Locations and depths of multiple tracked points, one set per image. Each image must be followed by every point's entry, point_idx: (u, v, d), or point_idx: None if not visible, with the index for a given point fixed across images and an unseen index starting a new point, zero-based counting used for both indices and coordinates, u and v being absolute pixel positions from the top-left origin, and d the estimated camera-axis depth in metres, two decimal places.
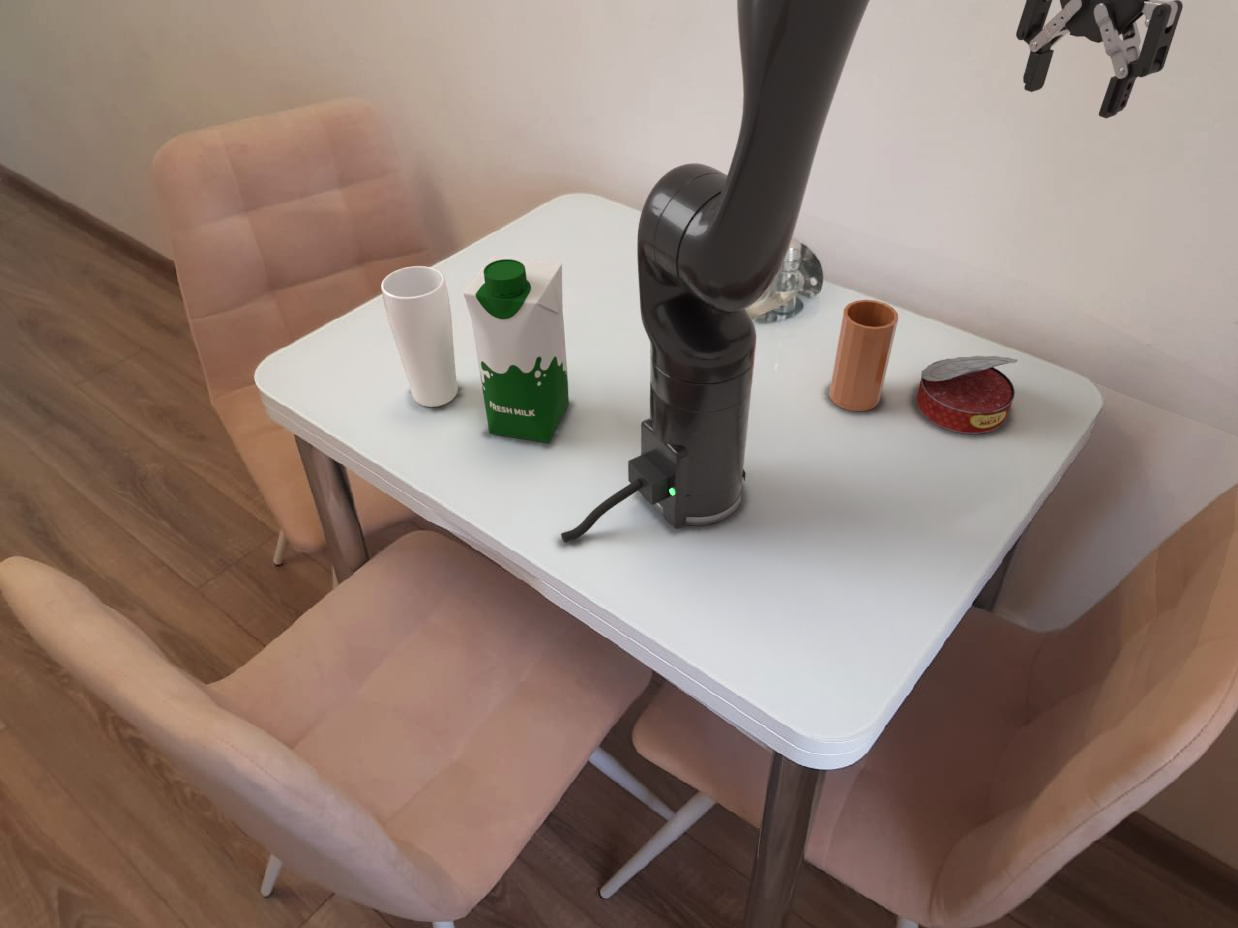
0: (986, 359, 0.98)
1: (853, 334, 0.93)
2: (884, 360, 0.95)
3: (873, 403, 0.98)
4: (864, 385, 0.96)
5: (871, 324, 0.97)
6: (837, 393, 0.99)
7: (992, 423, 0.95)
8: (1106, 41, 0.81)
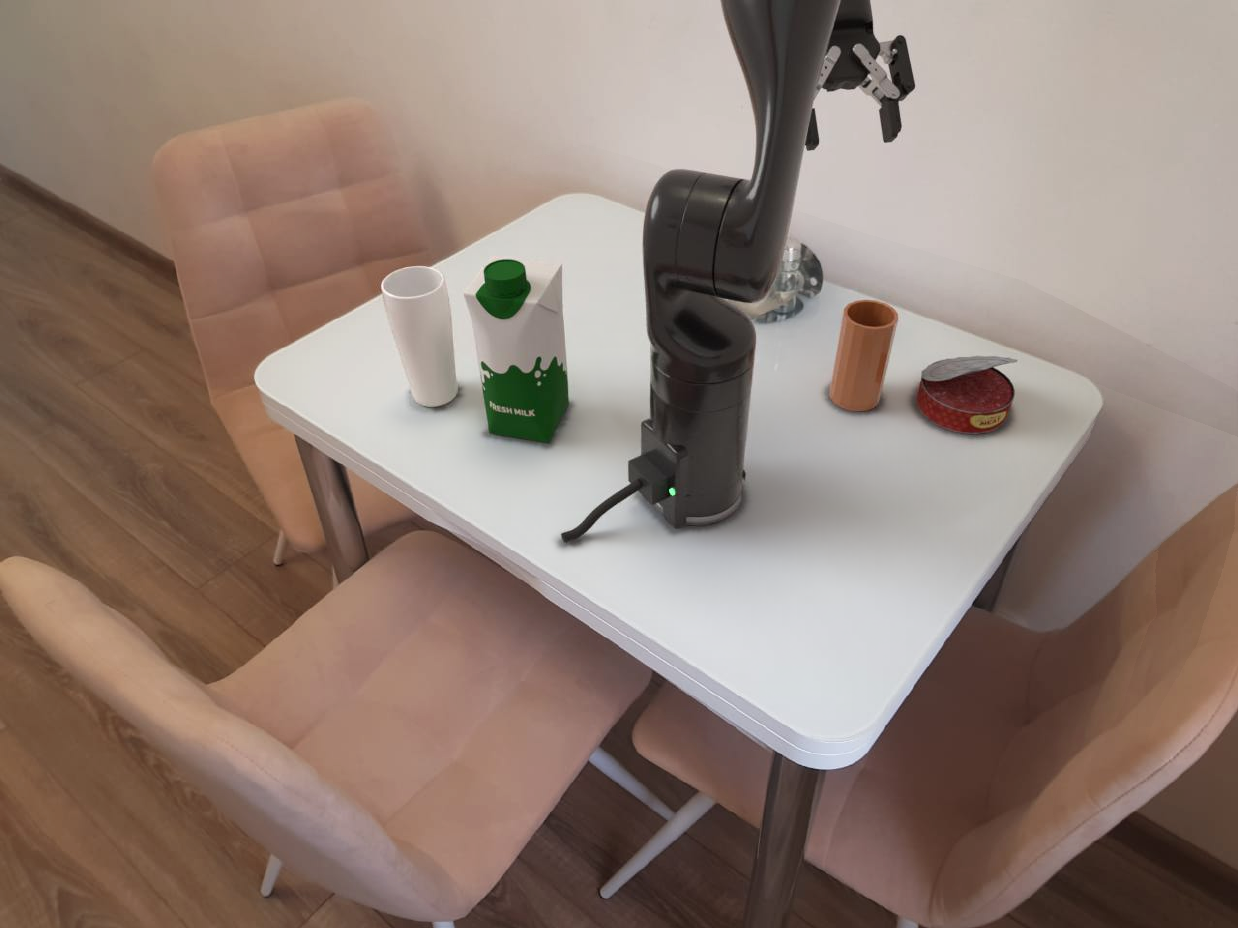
0: (986, 359, 0.98)
1: (853, 334, 0.93)
2: (884, 360, 0.95)
3: (873, 403, 0.98)
4: (864, 385, 0.96)
5: (871, 324, 0.97)
6: (837, 393, 0.99)
7: (992, 423, 0.95)
8: (874, 71, 0.91)
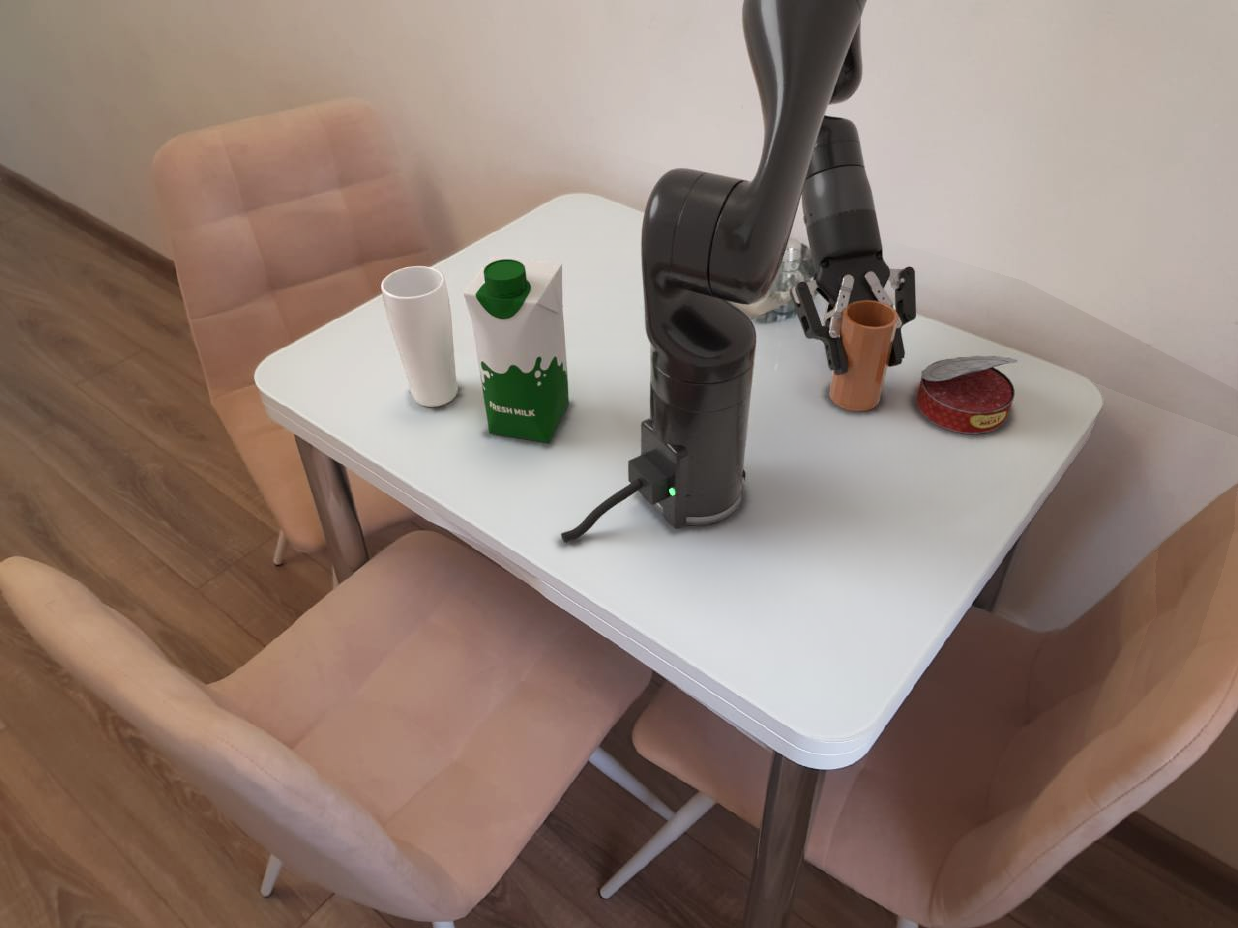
0: (986, 359, 0.98)
1: (853, 334, 0.93)
2: (884, 360, 0.95)
3: (873, 403, 0.98)
4: (864, 385, 0.96)
5: (871, 323, 0.97)
6: (837, 393, 0.99)
7: (992, 423, 0.95)
8: (885, 296, 0.95)
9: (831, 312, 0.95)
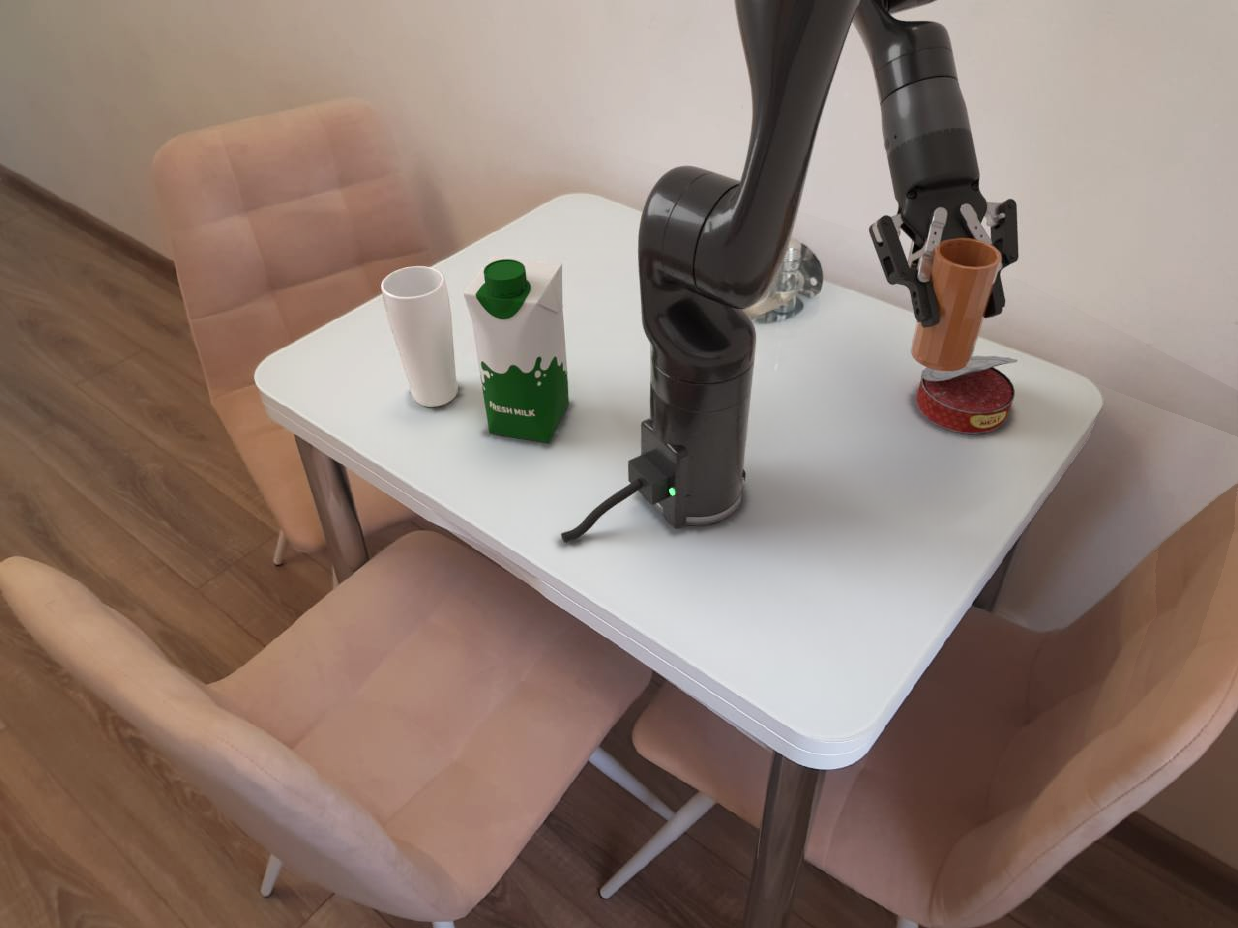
0: (986, 359, 0.98)
1: (948, 277, 0.78)
2: (982, 309, 0.80)
3: (965, 361, 0.84)
4: (957, 339, 0.81)
5: None
6: (922, 350, 0.84)
7: (992, 423, 0.95)
8: (984, 233, 0.80)
9: (919, 252, 0.80)
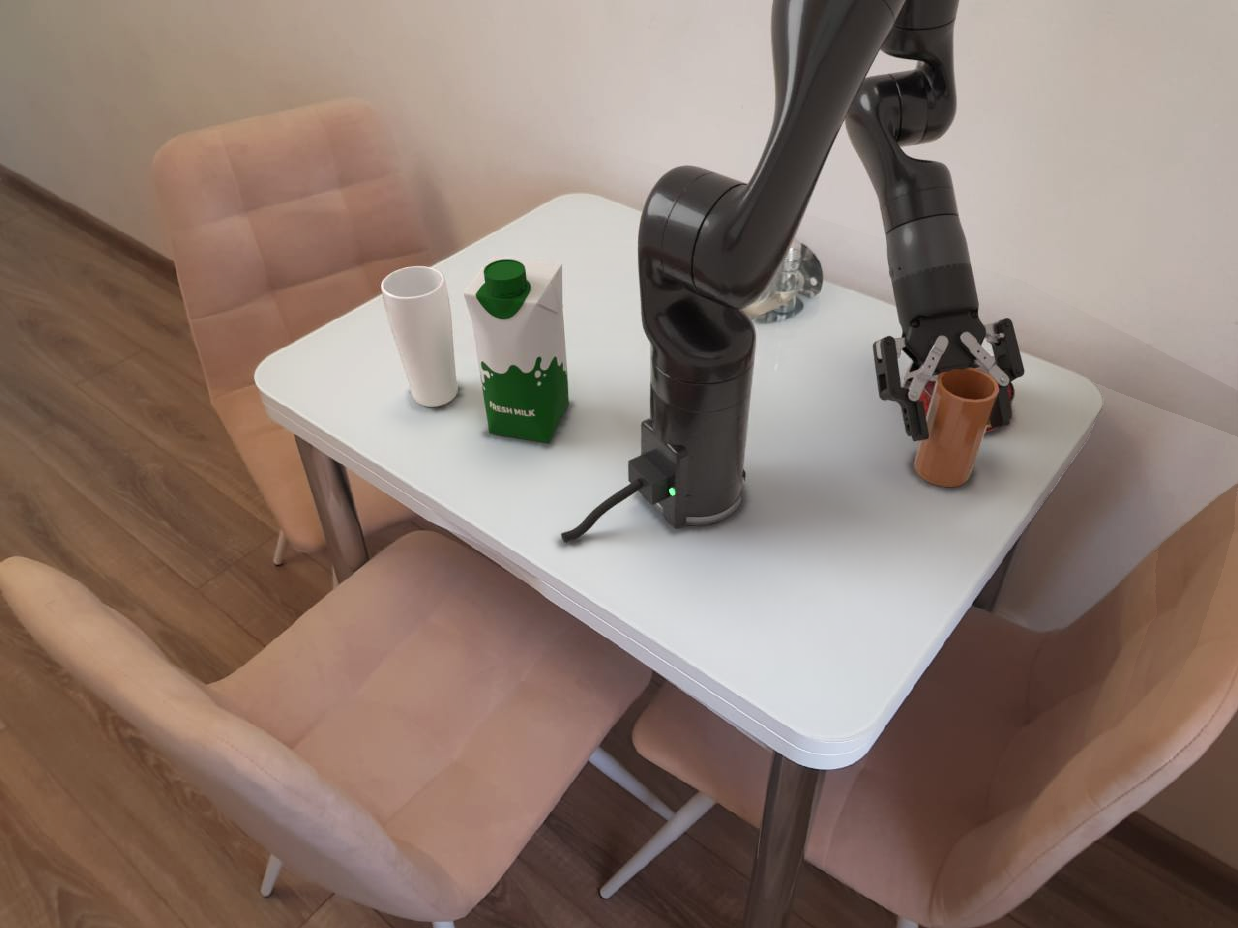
0: None
1: (949, 407, 0.83)
2: (981, 434, 0.85)
3: (965, 478, 0.89)
4: (957, 460, 0.87)
5: (964, 391, 0.88)
6: (925, 467, 0.89)
7: None
8: (982, 359, 0.85)
9: (915, 372, 0.85)
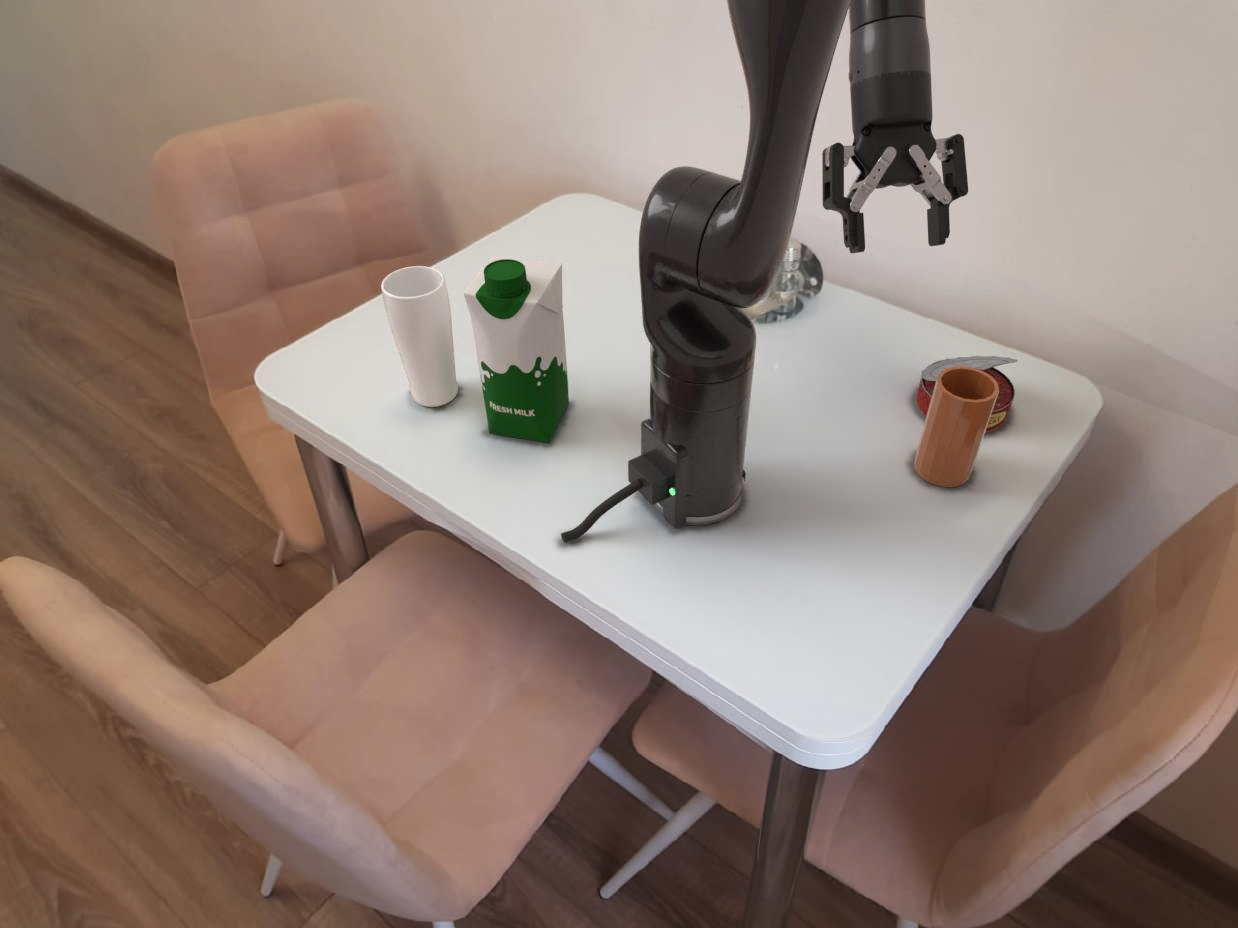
0: (986, 359, 0.98)
1: (949, 407, 0.83)
2: (981, 434, 0.85)
3: (965, 478, 0.89)
4: (957, 460, 0.87)
5: (964, 391, 0.88)
6: (925, 467, 0.89)
7: (992, 423, 0.95)
8: (928, 175, 0.86)
9: (860, 183, 0.86)
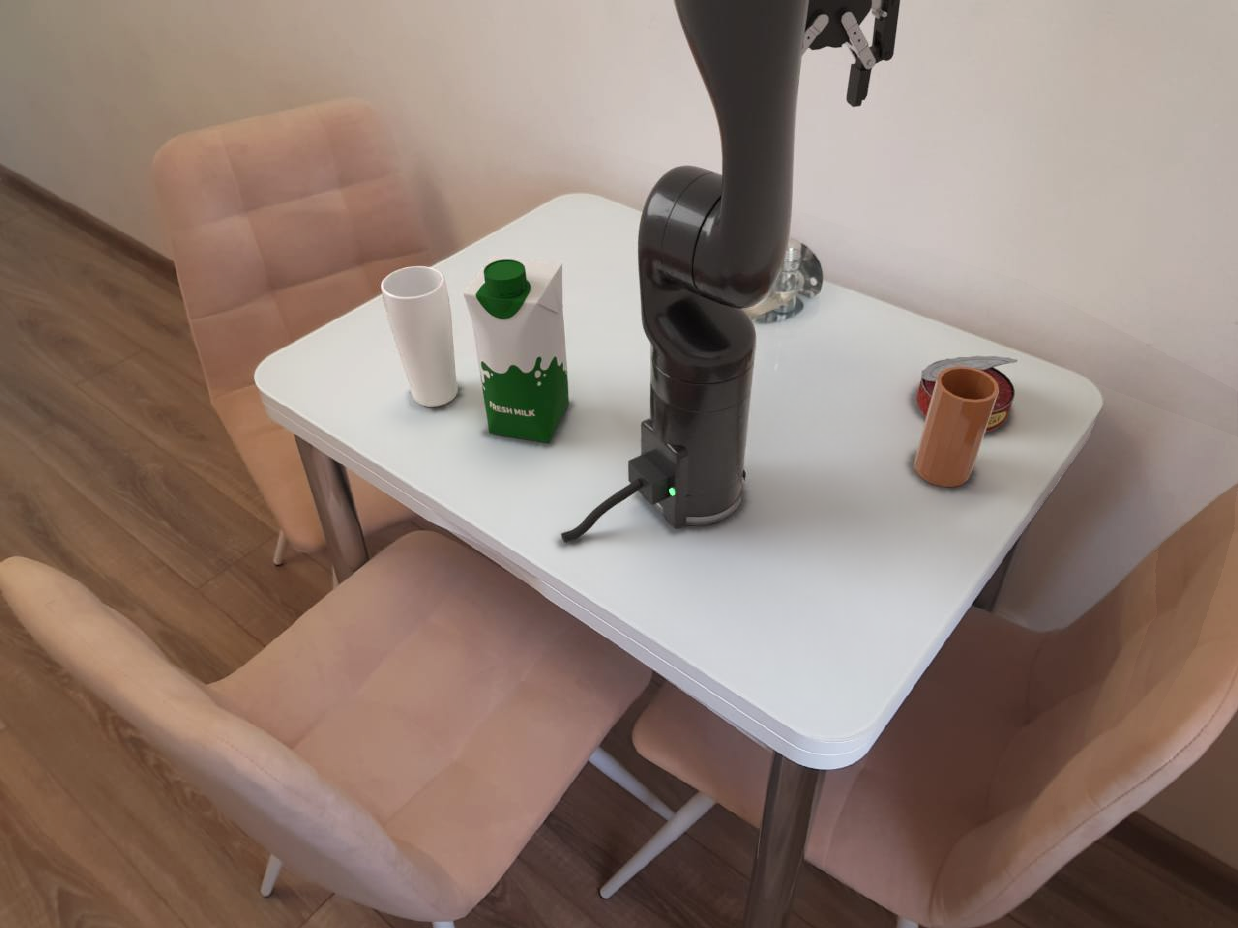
0: (986, 359, 0.98)
1: (949, 407, 0.83)
2: (981, 434, 0.85)
3: (965, 478, 0.89)
4: (957, 460, 0.87)
5: (964, 391, 0.88)
6: (925, 467, 0.89)
7: (992, 423, 0.95)
8: (856, 42, 0.85)
9: None
